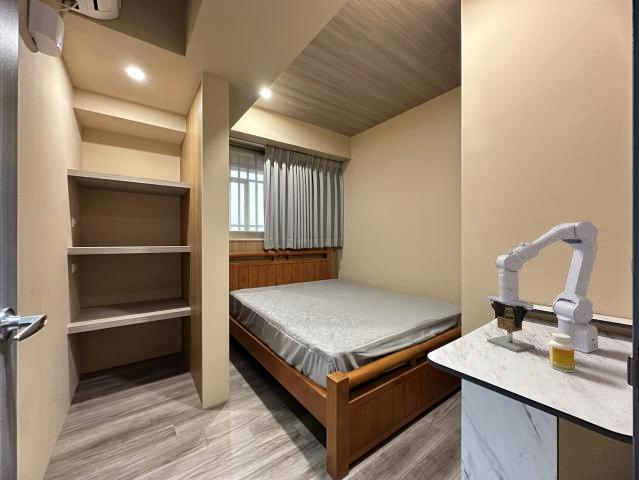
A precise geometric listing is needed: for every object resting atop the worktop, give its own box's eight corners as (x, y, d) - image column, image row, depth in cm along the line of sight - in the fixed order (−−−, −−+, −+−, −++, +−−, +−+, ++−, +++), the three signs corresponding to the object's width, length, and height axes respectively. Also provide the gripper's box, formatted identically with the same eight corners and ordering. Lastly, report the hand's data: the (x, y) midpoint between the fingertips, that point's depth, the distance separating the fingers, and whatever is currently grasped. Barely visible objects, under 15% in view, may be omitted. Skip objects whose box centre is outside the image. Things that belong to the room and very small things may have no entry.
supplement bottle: (580, 373, 71) (579, 339, 71) (557, 372, 72) (557, 338, 72) (565, 364, 77) (564, 332, 77) (545, 363, 78) (544, 331, 78)
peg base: (534, 347, 89) (534, 328, 89) (515, 352, 85) (515, 332, 85) (505, 337, 98) (504, 320, 98) (487, 341, 95) (486, 323, 95)
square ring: (522, 330, 90) (521, 319, 90) (512, 332, 88) (512, 320, 88) (507, 325, 95) (506, 315, 95) (497, 327, 93) (497, 316, 93)
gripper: (482, 285, 97) (482, 320, 97) (523, 292, 84) (524, 333, 84) (494, 284, 100) (495, 318, 100) (537, 290, 86) (537, 330, 86)
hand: (509, 325), depth 92 cm, fingers closed on square ring, 5 cm apart
